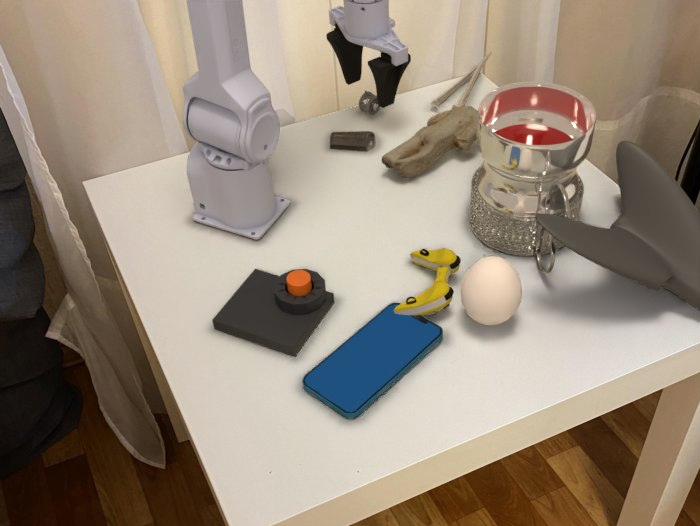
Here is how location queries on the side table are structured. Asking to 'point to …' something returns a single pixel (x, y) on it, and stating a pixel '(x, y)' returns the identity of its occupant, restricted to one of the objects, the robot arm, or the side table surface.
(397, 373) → the smartphone
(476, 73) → the tweezers
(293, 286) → the button
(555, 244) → the silver candle holder
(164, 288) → the side table surface
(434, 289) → the yellow curved piece
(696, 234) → the propeller
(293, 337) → the push button box
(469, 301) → the egg
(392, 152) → the sculpture
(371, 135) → the block
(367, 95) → the decorative ring
